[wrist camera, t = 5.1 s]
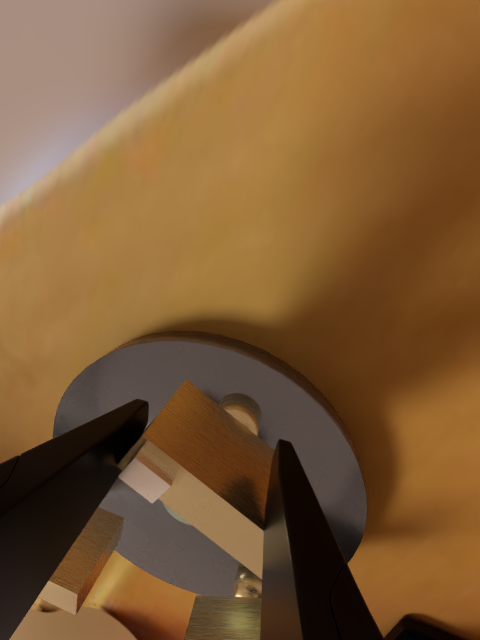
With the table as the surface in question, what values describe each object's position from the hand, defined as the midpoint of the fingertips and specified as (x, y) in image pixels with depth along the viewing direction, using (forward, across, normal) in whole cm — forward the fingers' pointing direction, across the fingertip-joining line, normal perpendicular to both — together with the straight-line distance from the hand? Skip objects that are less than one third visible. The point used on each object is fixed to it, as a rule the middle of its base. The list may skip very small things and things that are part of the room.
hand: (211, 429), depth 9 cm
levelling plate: (+4, +1, +7) cm, 8 cm away
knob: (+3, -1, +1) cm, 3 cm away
